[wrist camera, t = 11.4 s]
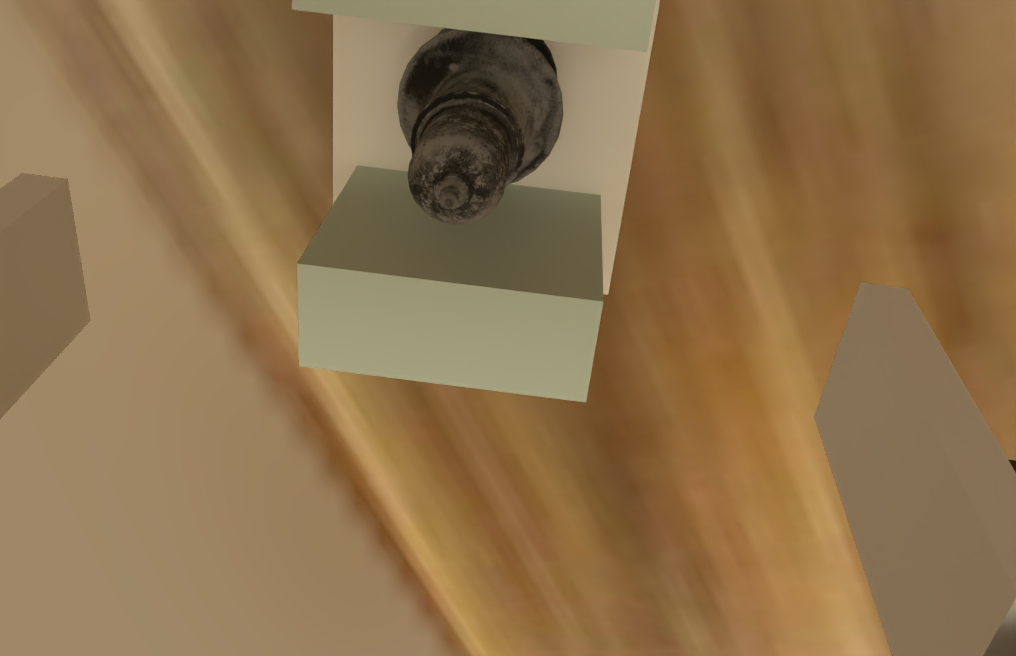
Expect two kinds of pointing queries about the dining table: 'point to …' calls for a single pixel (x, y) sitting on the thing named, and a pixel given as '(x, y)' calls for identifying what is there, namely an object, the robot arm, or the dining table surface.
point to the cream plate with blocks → (493, 239)
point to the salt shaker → (476, 119)
